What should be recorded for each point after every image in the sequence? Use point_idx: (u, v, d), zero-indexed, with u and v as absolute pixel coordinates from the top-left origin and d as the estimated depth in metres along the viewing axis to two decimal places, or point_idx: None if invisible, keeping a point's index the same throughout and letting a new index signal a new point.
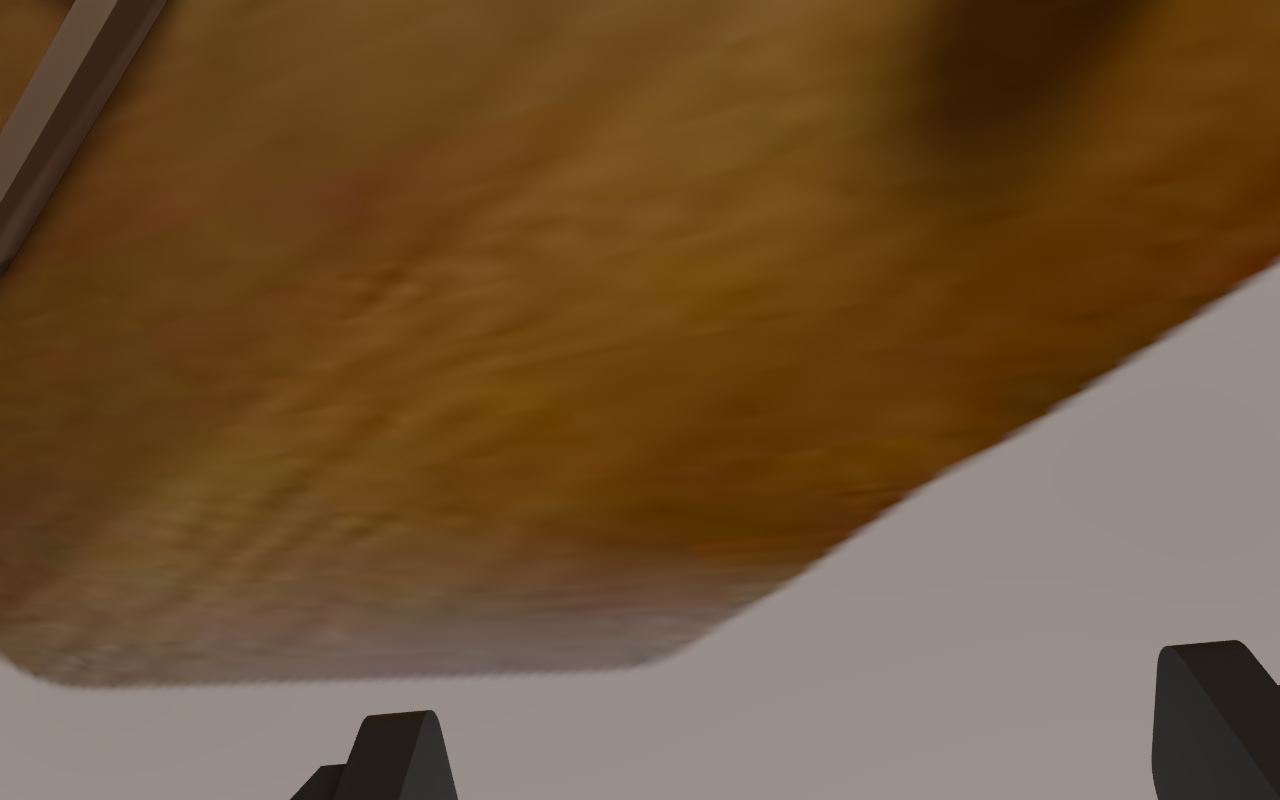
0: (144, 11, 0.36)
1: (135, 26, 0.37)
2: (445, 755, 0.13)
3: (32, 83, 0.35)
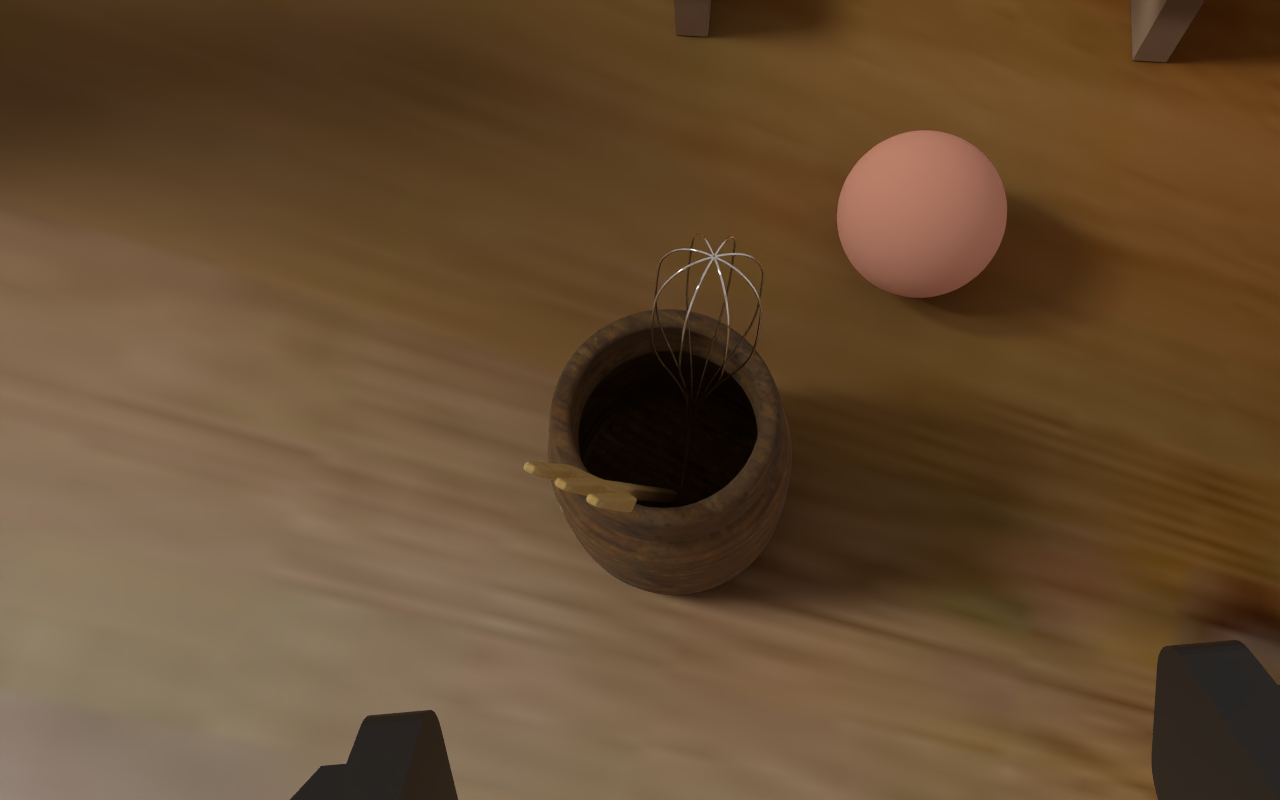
0: None
1: None
2: (445, 754, 0.13)
3: None
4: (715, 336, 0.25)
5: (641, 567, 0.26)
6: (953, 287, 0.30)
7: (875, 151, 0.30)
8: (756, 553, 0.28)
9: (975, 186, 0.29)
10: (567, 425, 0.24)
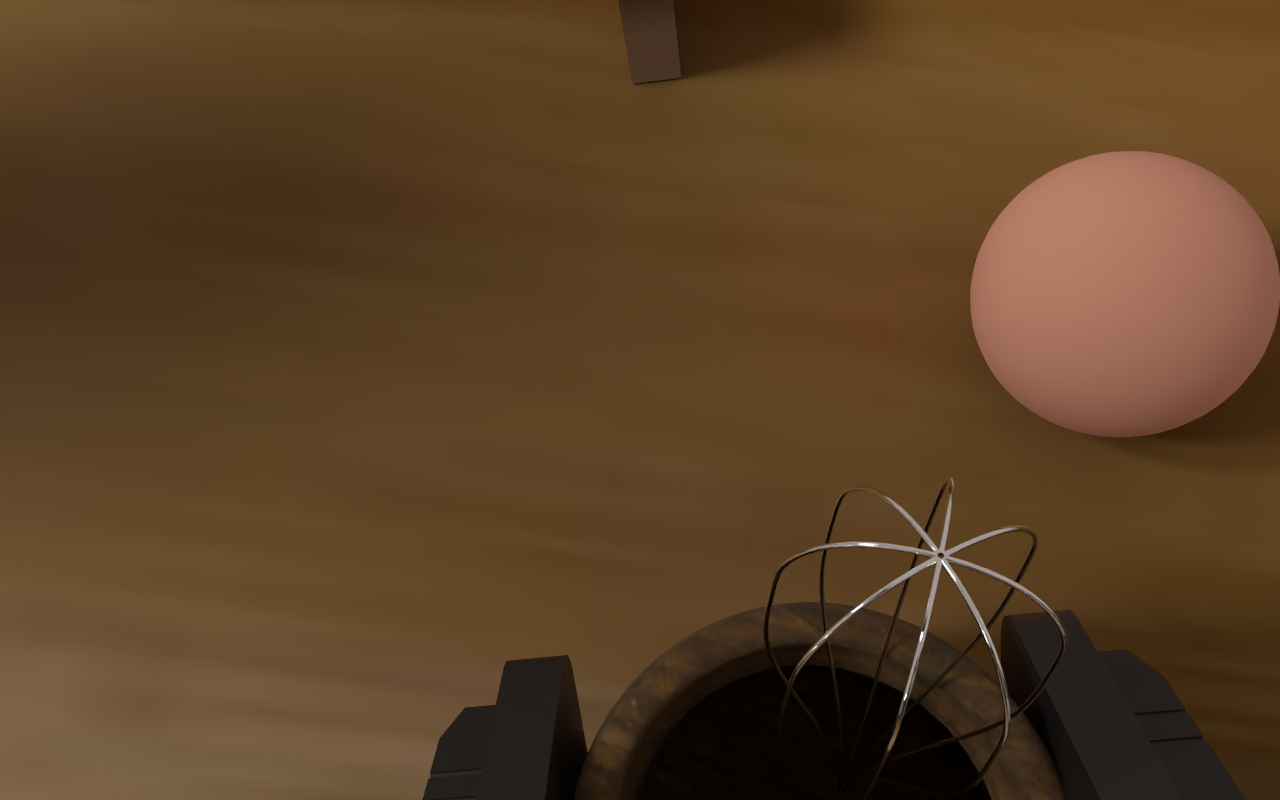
0: None
1: None
2: (576, 699, 0.13)
3: None
4: (886, 651, 0.12)
5: None
6: (1210, 410, 0.17)
7: (1030, 204, 0.17)
8: None
9: (1236, 233, 0.16)
10: None
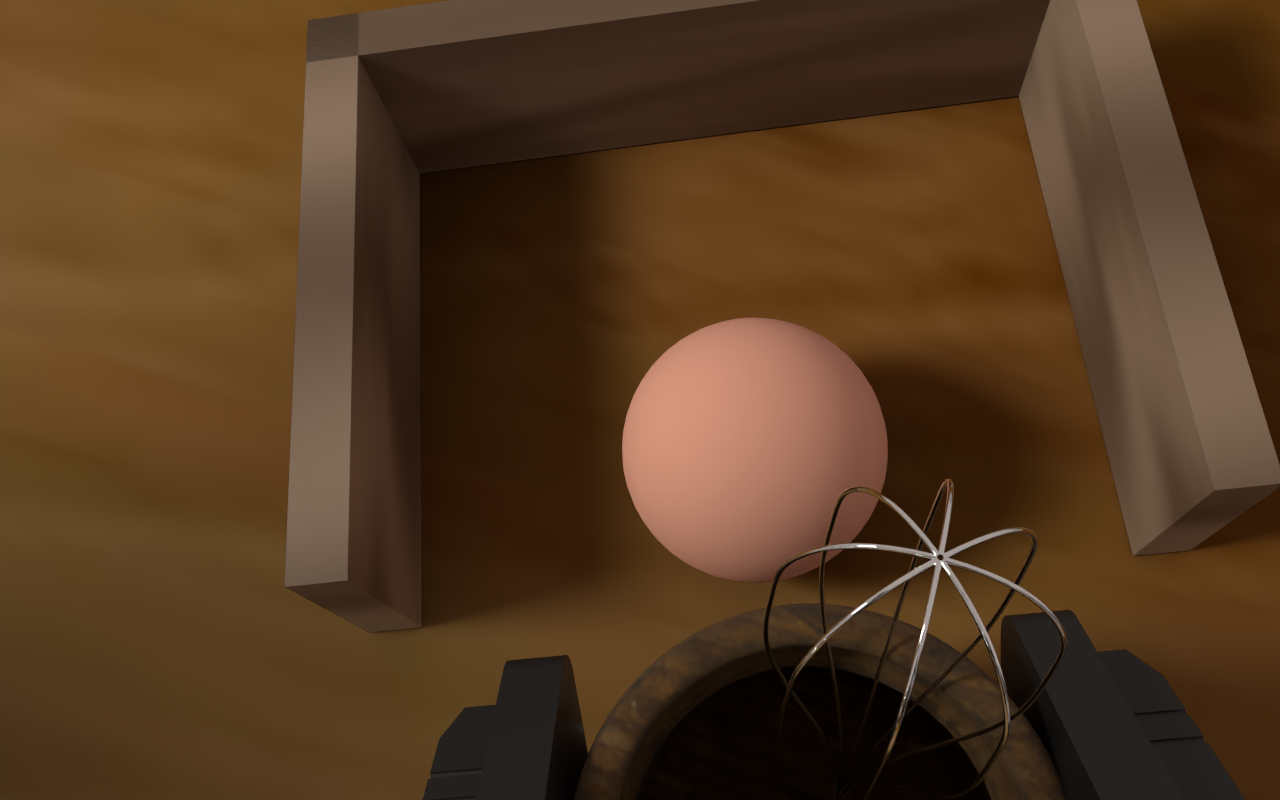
0: None
1: None
2: (576, 699, 0.13)
3: (635, 13, 0.21)
4: (886, 652, 0.12)
5: None
6: None
7: (680, 558, 0.19)
8: None
9: None
10: None
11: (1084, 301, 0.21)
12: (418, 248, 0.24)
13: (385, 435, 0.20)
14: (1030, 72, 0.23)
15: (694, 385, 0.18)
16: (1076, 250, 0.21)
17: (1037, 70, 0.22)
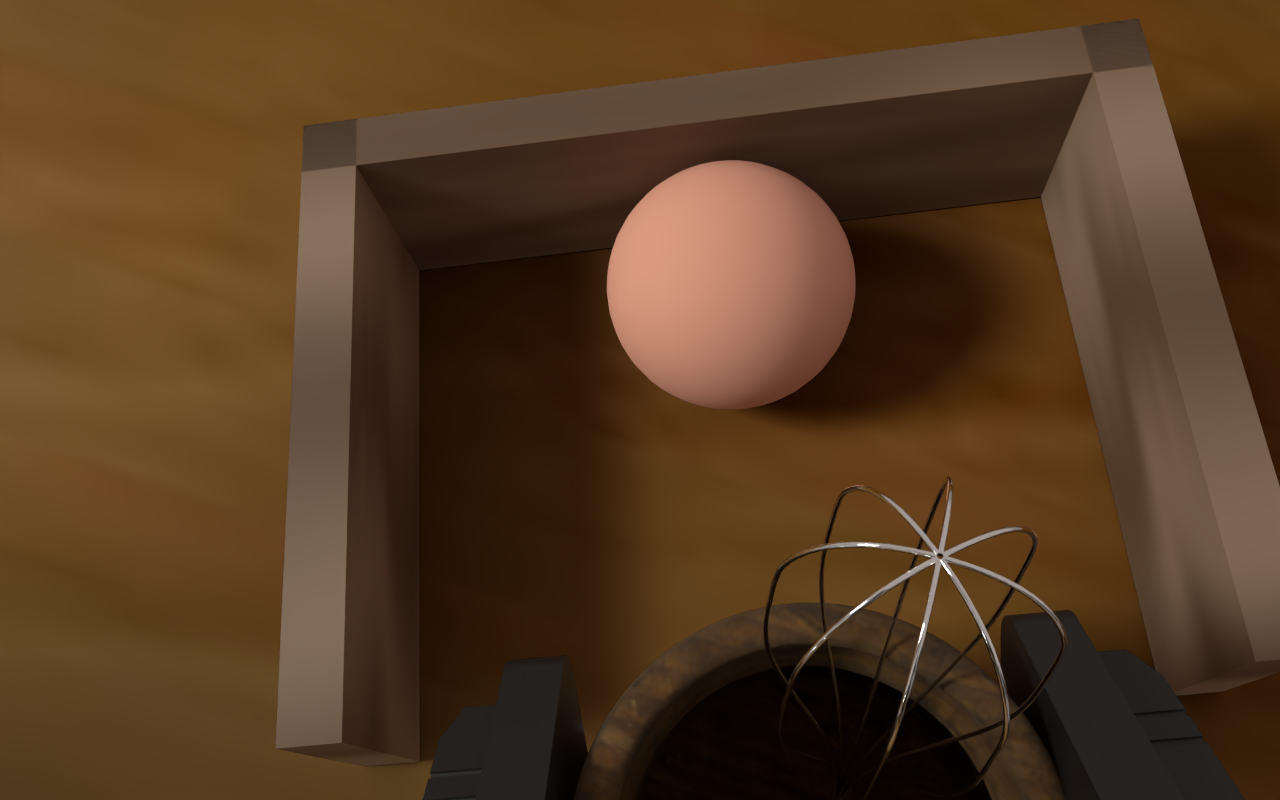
0: None
1: None
2: (577, 699, 0.13)
3: (645, 124, 0.20)
4: (886, 651, 0.12)
5: None
6: (797, 375, 0.19)
7: (640, 201, 0.20)
8: None
9: (788, 211, 0.19)
10: None
11: (1110, 424, 0.20)
12: (418, 351, 0.23)
13: (383, 567, 0.19)
14: (1054, 177, 0.22)
15: None
16: (1102, 370, 0.20)
17: (1062, 177, 0.22)
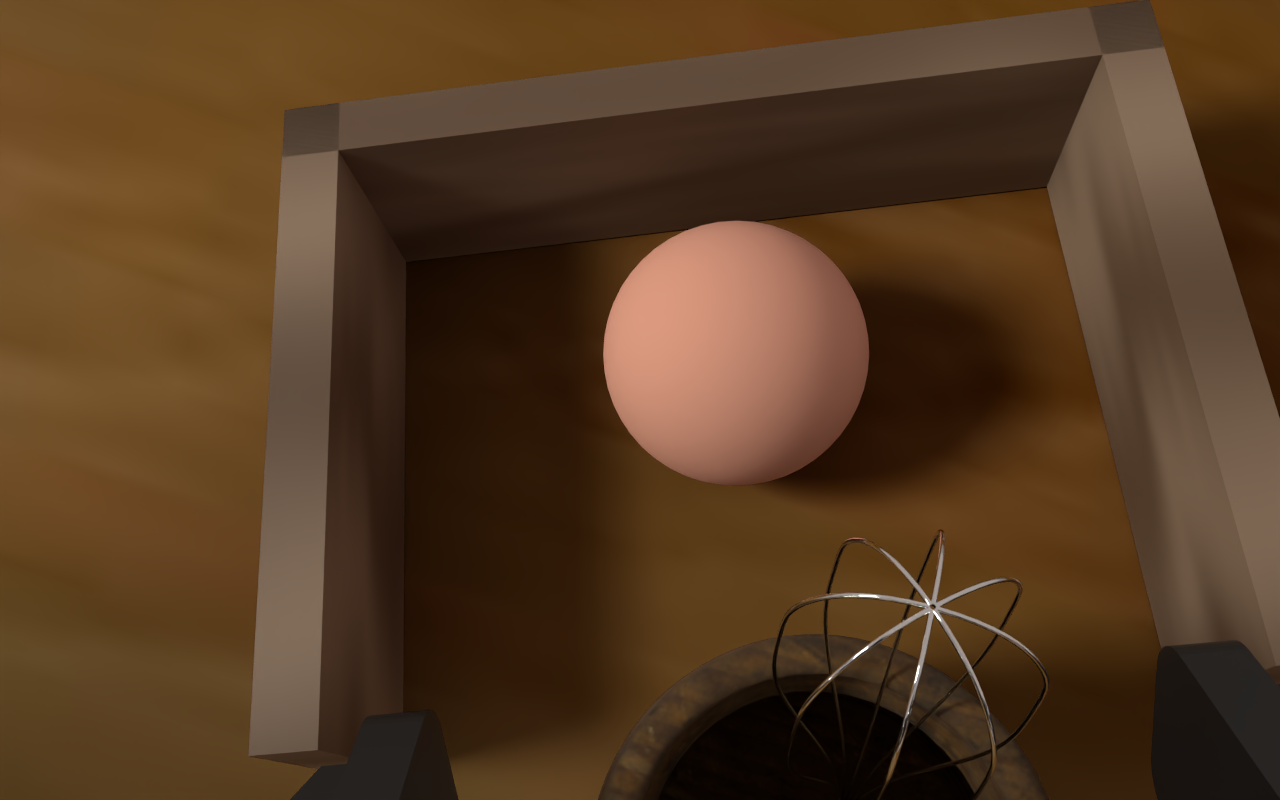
0: None
1: None
2: (445, 755, 0.13)
3: (638, 108, 0.19)
4: (886, 681, 0.12)
5: None
6: None
7: (639, 301, 0.18)
8: None
9: (807, 360, 0.17)
10: None
11: (1120, 420, 0.20)
12: (403, 345, 0.22)
13: (364, 566, 0.19)
14: (1060, 165, 0.21)
15: None
16: (1111, 364, 0.20)
17: (1069, 165, 0.21)
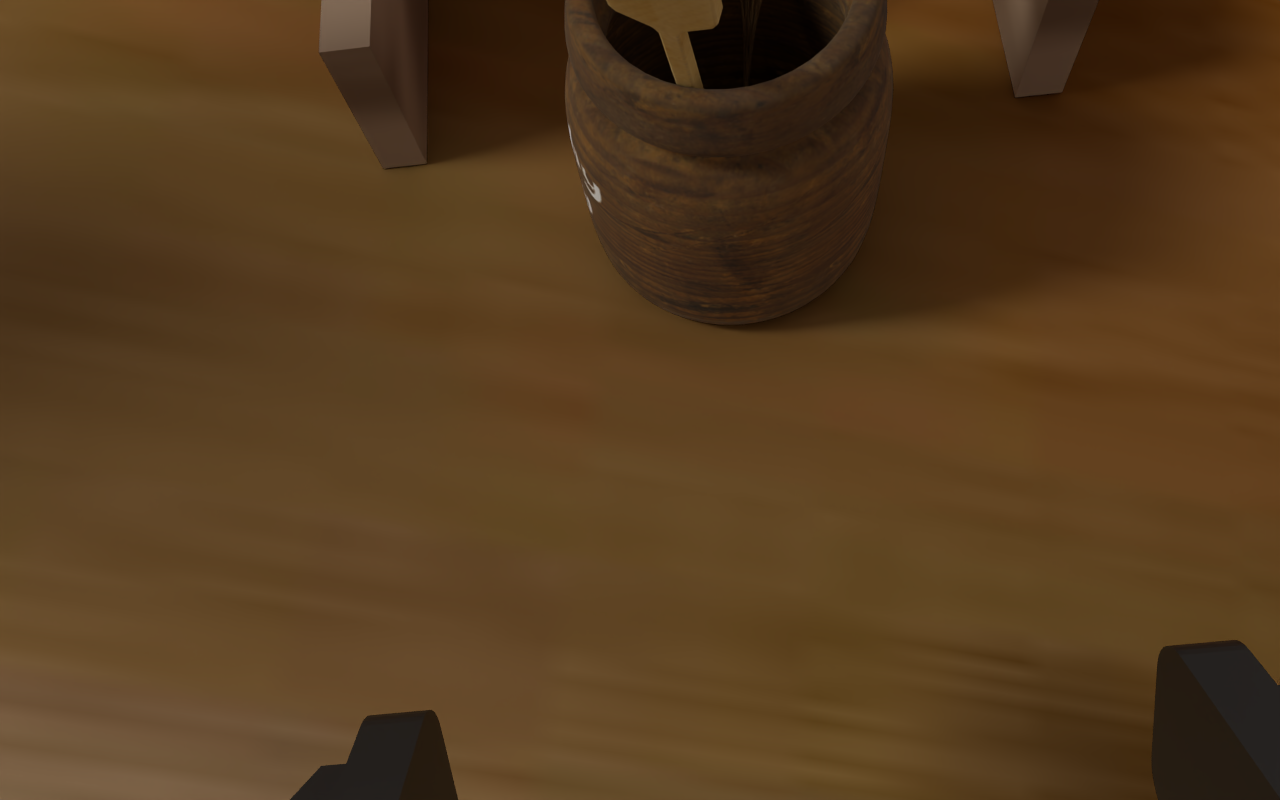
0: None
1: None
2: (445, 755, 0.13)
3: None
4: None
5: (722, 228, 0.19)
6: None
7: None
8: (860, 225, 0.21)
9: None
10: (592, 16, 0.18)
11: None
12: None
13: None
14: None
15: None
16: None
17: None
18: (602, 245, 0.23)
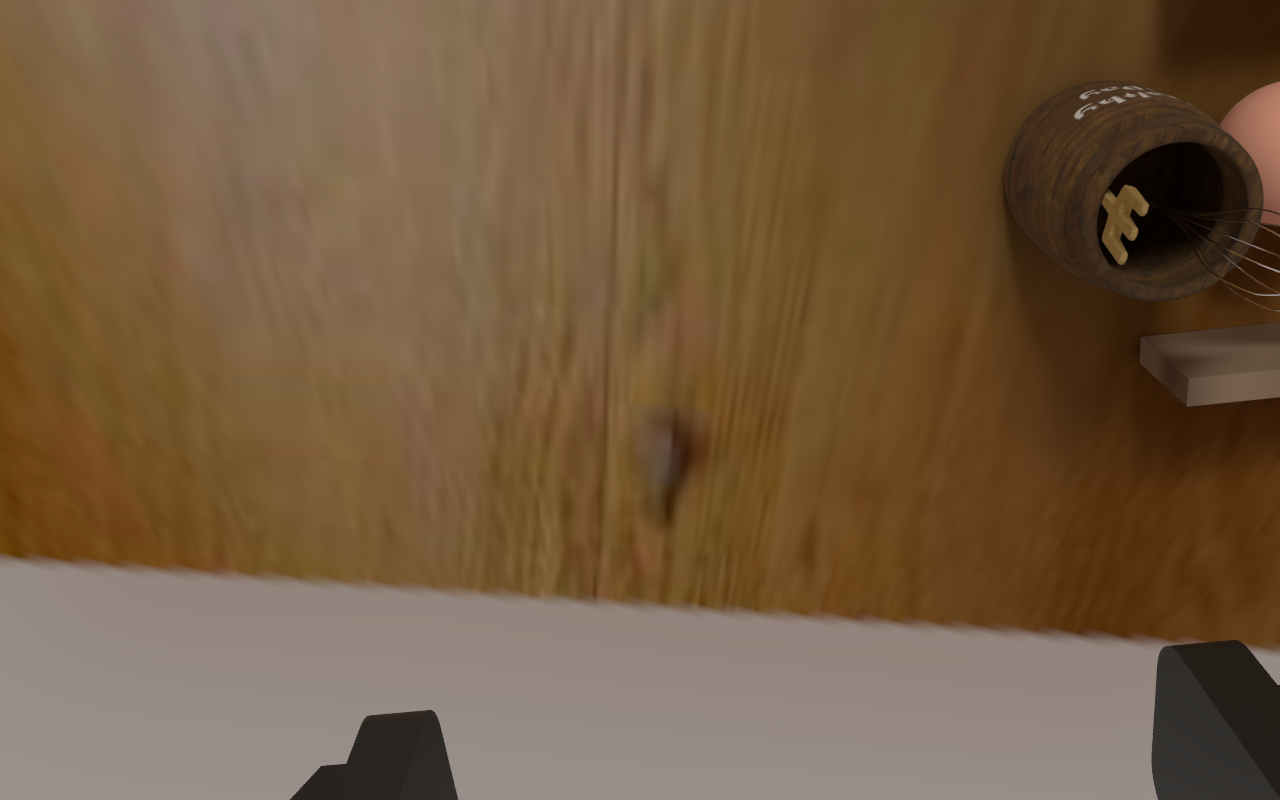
0: None
1: None
2: (445, 755, 0.13)
3: None
4: (1240, 241, 0.32)
5: (1038, 196, 0.34)
6: None
7: (1260, 117, 0.34)
8: None
9: None
10: (1159, 145, 0.31)
11: None
12: None
13: None
14: None
15: None
16: None
17: None
18: (1066, 92, 0.36)
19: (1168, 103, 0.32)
